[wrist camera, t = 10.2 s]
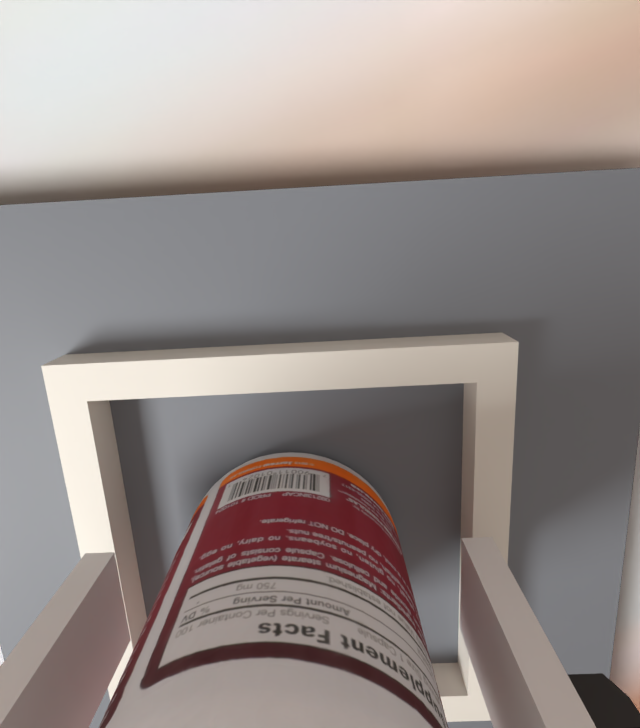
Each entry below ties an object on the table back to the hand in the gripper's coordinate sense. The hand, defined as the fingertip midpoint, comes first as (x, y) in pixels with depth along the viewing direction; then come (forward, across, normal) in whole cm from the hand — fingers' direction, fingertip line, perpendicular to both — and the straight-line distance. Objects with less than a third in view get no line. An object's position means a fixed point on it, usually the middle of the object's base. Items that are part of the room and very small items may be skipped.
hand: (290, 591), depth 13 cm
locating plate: (+4, 0, 0) cm, 4 cm away
